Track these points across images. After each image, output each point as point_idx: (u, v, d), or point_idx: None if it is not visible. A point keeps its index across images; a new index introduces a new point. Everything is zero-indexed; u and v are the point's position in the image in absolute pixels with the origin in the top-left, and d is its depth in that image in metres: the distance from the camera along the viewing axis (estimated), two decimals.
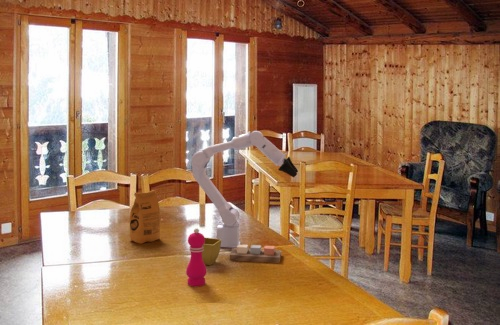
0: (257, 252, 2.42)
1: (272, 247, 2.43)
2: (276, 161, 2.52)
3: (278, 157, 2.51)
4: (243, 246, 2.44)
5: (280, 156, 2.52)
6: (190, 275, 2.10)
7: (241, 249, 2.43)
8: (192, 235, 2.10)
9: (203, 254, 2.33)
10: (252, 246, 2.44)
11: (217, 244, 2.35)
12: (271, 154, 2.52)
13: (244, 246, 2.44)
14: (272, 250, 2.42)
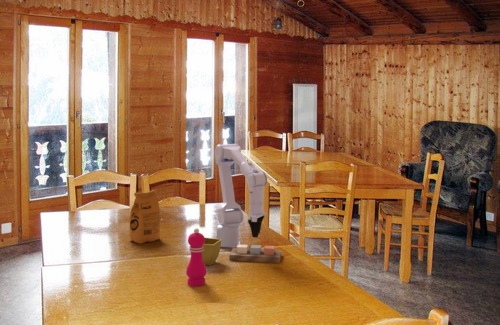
0: (257, 252, 2.42)
1: (272, 247, 2.43)
2: (252, 212, 2.40)
3: (257, 211, 2.39)
4: (243, 246, 2.44)
5: (259, 212, 2.40)
6: (190, 275, 2.10)
7: (241, 249, 2.43)
8: (192, 235, 2.10)
9: (203, 254, 2.33)
10: (252, 246, 2.44)
11: (217, 244, 2.35)
12: (254, 204, 2.39)
13: (244, 246, 2.44)
14: (272, 250, 2.42)
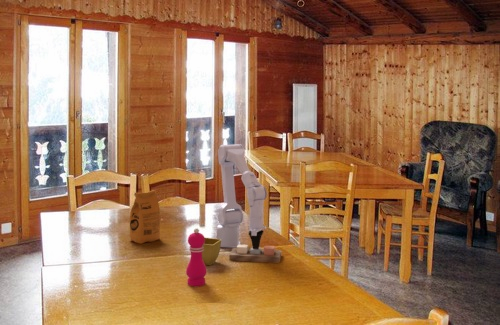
0: None
1: (272, 247, 2.43)
2: (252, 226, 2.41)
3: (257, 225, 2.40)
4: (243, 246, 2.44)
5: (259, 226, 2.40)
6: (190, 275, 2.10)
7: (241, 249, 2.43)
8: (192, 235, 2.10)
9: (203, 254, 2.33)
10: (252, 248, 2.44)
11: (217, 244, 2.35)
12: (254, 218, 2.40)
13: (244, 246, 2.44)
14: (272, 250, 2.42)
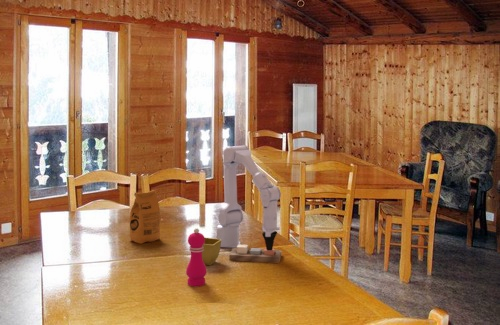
0: None
1: (272, 249, 2.43)
2: (266, 227, 2.40)
3: (270, 226, 2.39)
4: (243, 246, 2.44)
5: (273, 227, 2.40)
6: (190, 275, 2.10)
7: (241, 249, 2.43)
8: (192, 235, 2.10)
9: (203, 254, 2.33)
10: (252, 249, 2.44)
11: (217, 244, 2.35)
12: (268, 219, 2.39)
13: (244, 246, 2.44)
14: (272, 252, 2.42)
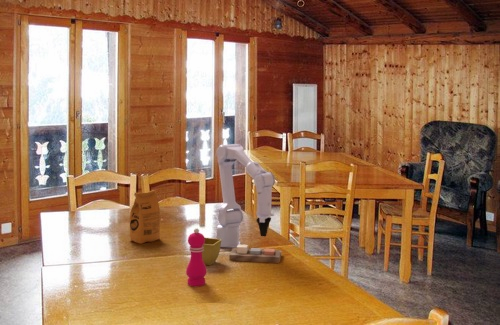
0: None
1: (272, 250, 2.43)
2: (260, 213, 2.40)
3: (265, 212, 2.39)
4: (243, 246, 2.44)
5: (267, 213, 2.39)
6: (190, 275, 2.10)
7: (241, 249, 2.43)
8: (192, 235, 2.10)
9: (203, 254, 2.33)
10: (252, 249, 2.44)
11: (217, 244, 2.35)
12: (262, 204, 2.39)
13: (244, 246, 2.44)
14: (272, 253, 2.42)
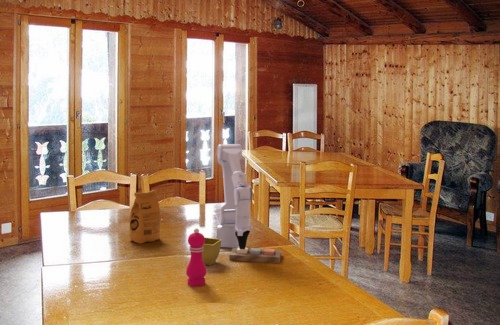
0: None
1: (272, 250, 2.43)
2: (238, 226, 2.41)
3: (243, 225, 2.41)
4: (243, 249, 2.44)
5: (245, 226, 2.41)
6: (190, 275, 2.10)
7: (241, 252, 2.43)
8: (192, 235, 2.10)
9: (203, 254, 2.33)
10: (252, 249, 2.44)
11: (217, 244, 2.35)
12: (240, 218, 2.41)
13: (244, 249, 2.44)
14: (272, 253, 2.42)
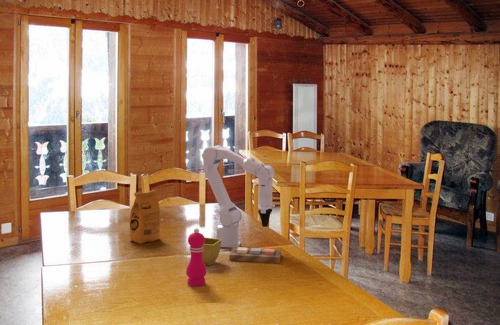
0: None
1: (272, 250, 2.43)
2: (261, 204, 2.50)
3: (266, 203, 2.50)
4: (243, 249, 2.44)
5: (268, 204, 2.50)
6: (190, 275, 2.10)
7: (241, 252, 2.43)
8: (192, 235, 2.10)
9: (203, 254, 2.33)
10: (252, 249, 2.44)
11: (217, 244, 2.35)
12: (263, 196, 2.49)
13: (244, 249, 2.44)
14: (272, 253, 2.42)
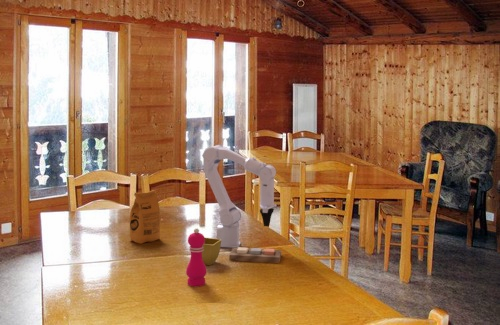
0: None
1: (272, 250, 2.43)
2: (263, 204, 2.51)
3: (267, 203, 2.51)
4: (243, 249, 2.44)
5: (270, 204, 2.51)
6: (190, 275, 2.10)
7: (241, 252, 2.43)
8: (192, 235, 2.10)
9: (203, 254, 2.33)
10: (252, 249, 2.44)
11: (217, 244, 2.35)
12: (265, 196, 2.50)
13: (244, 249, 2.44)
14: (272, 253, 2.42)
